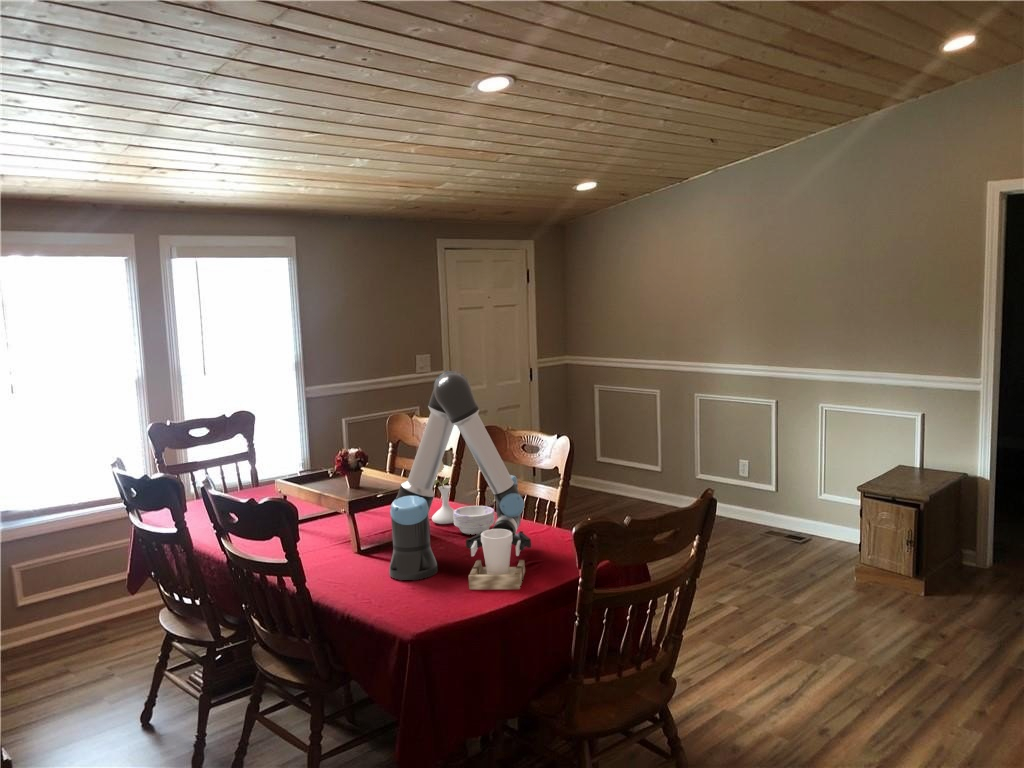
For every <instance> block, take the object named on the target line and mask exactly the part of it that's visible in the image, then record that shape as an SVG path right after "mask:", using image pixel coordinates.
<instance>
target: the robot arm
mask: <svg viewBox="0 0 1024 768" xmlns="http://www.w3.org/2000/svg"><path fill="white" fill-rule="evenodd" d="M473 393H474V392H473V391H472V387H471V385H470V382H469V380H468V378H467V377H466V376H465V375H464V374H462V373H460V372H458V371H454V370H453V371H446V372H443V373H442V374H440V375H439V376H438V377H436V379H435V381H434V383H433V390H432V392H431V396H430V398H429V402H428V406H427V408H428V410H429V411H430V413H429V416H428V419H427V422H426V425H425V428H424V431H423V433H422V437H421V440H420V443H419V444H418V445H419V446H418V448H417V451H416V455H415V457H414V460H413V463H412V466H411V469H410V472H409V475H408V478H407V480H405V481H403V482H402V483H401V484H400V486H399V489H398V493H397V496H395V497H396V498H395V499H394V500H393V501H392V503H391V505H390V510H389V513H390V519H391V521H390V522H391V532H392V533H391V534H392V547H393V548H392V549H393V550H392V556H391V560H390V563H389V568H388V570H389V571H388V572H389V573H388V574H389V577H390V576H391V577H392V578H391V577H390V578H391V579H393V578H395V579H394V580H396V579H399V580H398V581H402V580H413V581H420V580H424V579H423V578H425V579H428V578H431V577H433V576H434V575H436V574H437V573H438V570H439V568H438V562H437V560H436V557H435V555H434V553H433V550H432V547H431V535H430V534H431V532H430V519H429V518H430V517H429V513H430V509H431V507H432V503H433V500H434V498H435V496H436V495H435V492H434V489H433V487H434V485H433V484H434V481H435V480H436V479H437V477H438V474H439V473H438V470H439V467H440V464H441V461H442V462H443V458H444V455H445V453H446V449H447V446H448V444H449V441H450V437H451V434H452V433H453V429H454V426H457V429H458V431H459V432H460V434H461V436H462V438H463V440H464V441H465V444H466V445H467V447H468V449H469V451H470V453H471V455H472V456H473V459H474V460H475V463H476V464H477V467H478V468H479V470H480V472H481V474H482V475H483V477H484V480H485V481H486V483H487V485H488V487H489V488H490V491H491V493H492V494H493V497H494V499H495V507H496V508H495V509H496V510H495V511H496V512H495V513H496V520H495V523H494V524H493V525H492V528H491V529H506V530H509V531H511V532H512V537H513V541H512V546H515V556H516V557H519V556H520V552H521V551H524V549H526V548H532V539H531V538H530V537H528V535H526V534H525V533H524V531H522V530H519V532H518V528H519V527H520V525H521V514H522V512H523V511H524V508H525V501H524V499H523V497H522V495H521V494H520V491H519V489H518V488H519V483H518V478H517V477H516V475H514V474H513V475H512V474H510V473H509V471H508V468H507V466H506V465H505V463H504V461H503V459H502V457H501V455H500V454H499V452H498V450H497V447H496V446H495V444H494V442H493V440H492V438H491V436H490V434H489V433H488V431H487V429H486V427H485V424H484V423H483V421H482V419H481V417H480V415H479V412H480V408H479V406H478V404H477V403H476V399H475V397H474V394H473ZM437 473H438V474H437ZM482 532H483V531H482ZM482 532H480V533H479V534H476V535H474V536H473V535H472V536H471V537H469V538H467V539H466V540H465V545H466V546H465V547H466V549H469V551H470V556H471V557H474V556H475V555H476V553H477V551H478V548H482V547H483V546H482V542H481V533H482ZM427 577H428V578H427ZM419 579H420V580H419Z"/></svg>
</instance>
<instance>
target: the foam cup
mask: <svg viewBox="0 0 1024 768" xmlns="http://www.w3.org/2000/svg"><path fill="white" fill-rule="evenodd" d="M512 541H513V537H512V532H511V531H509V530H506V529H492V528H489V530H486V531H483V532H482V533H481V542H482V546H481V547H482V552H483V557H484V564H485V567H486V571H487V574H508V573H509V567H510V562H511V552H512V546H513V544H512Z"/></svg>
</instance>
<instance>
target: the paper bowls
mask: <svg viewBox="0 0 1024 768" xmlns="http://www.w3.org/2000/svg"><path fill="white" fill-rule="evenodd" d="M495 515H496V512H495V509H494V508H493V507H491V506H487V505H467V506H461V507H458V508H456V509H454V512H453V516H454V518H453V519H454V523H453V525H454V526H455V527H456V528H458V529H459V531H460V532H461V533H462V534H465V535H470V534H471V535H472V536H473V535H474V536H475V534H476V535H478V534H479V533H480V532H482V531H486V530H490V529H491V527H493V526H494V524H495V522H496V520H495V519H496V518H495V517H496V516H495Z"/></svg>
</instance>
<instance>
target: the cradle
mask: <svg viewBox="0 0 1024 768" xmlns="http://www.w3.org/2000/svg"><path fill="white" fill-rule="evenodd" d="M525 565H526V564H525V559H519V560H518V564H517V566H509V573H508V574H487V571H486V566H483V565H482V560H481V559H477V560H476V561H475V563H474V565H473V567H471V569H470V573H469V574H468V577H467V578H468V589H469V590H520V589H521V587H520V586H522V583H523V581H524V576H525V573H526V567H525ZM522 580H523V581H522Z"/></svg>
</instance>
